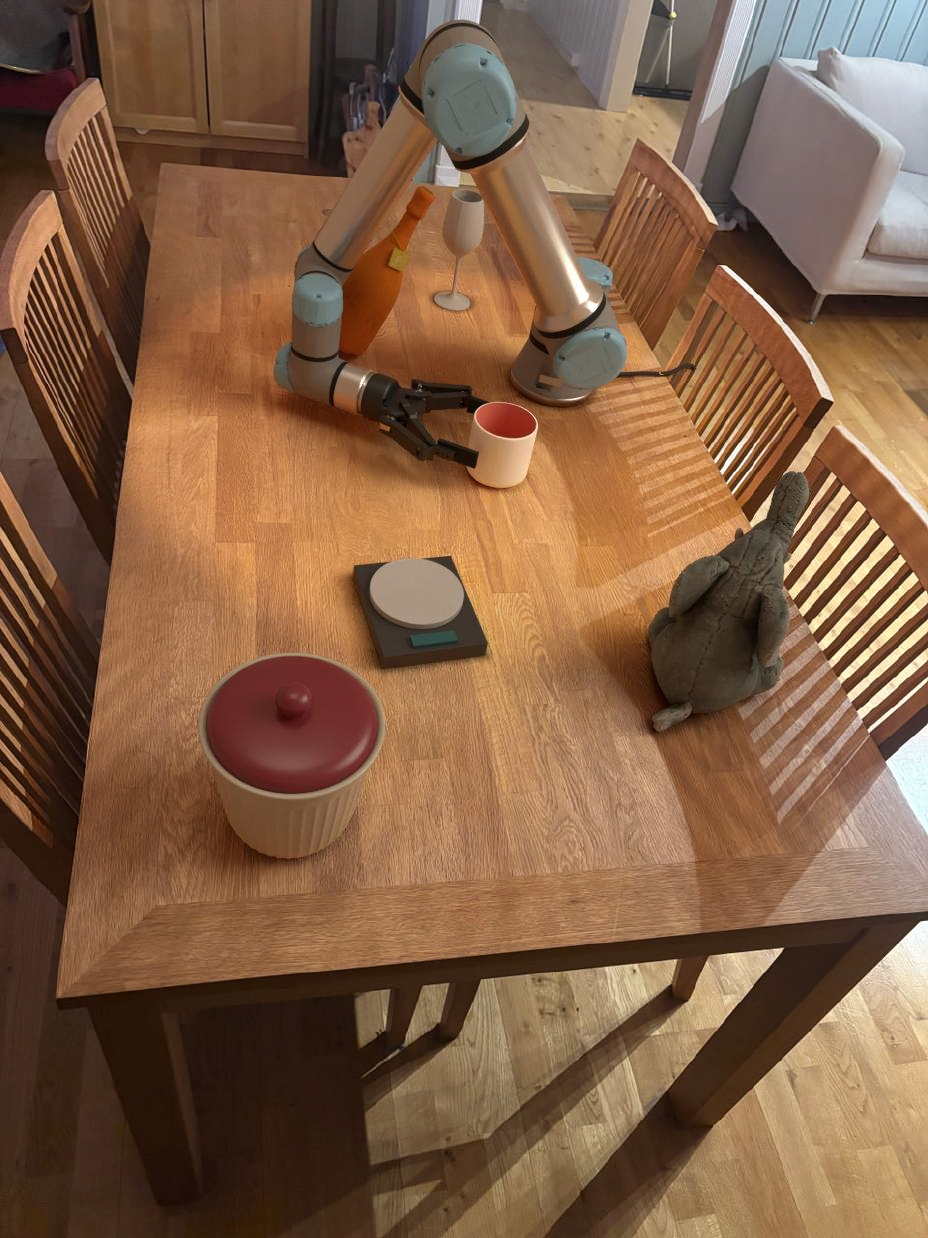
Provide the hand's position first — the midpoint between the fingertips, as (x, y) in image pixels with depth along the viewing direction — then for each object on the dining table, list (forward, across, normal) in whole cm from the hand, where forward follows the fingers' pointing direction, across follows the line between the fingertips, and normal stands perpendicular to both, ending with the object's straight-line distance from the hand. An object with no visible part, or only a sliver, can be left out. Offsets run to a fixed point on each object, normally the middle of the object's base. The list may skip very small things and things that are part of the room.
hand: (492, 438), depth 152 cm
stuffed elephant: (+41, +27, -6) cm, 50 cm away
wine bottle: (-35, -18, -4) cm, 40 cm away
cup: (+2, 0, -6) cm, 6 cm away
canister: (+2, +70, -6) cm, 71 cm away
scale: (+3, +36, -6) cm, 36 cm away
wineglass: (-25, -48, -6) cm, 54 cm away
